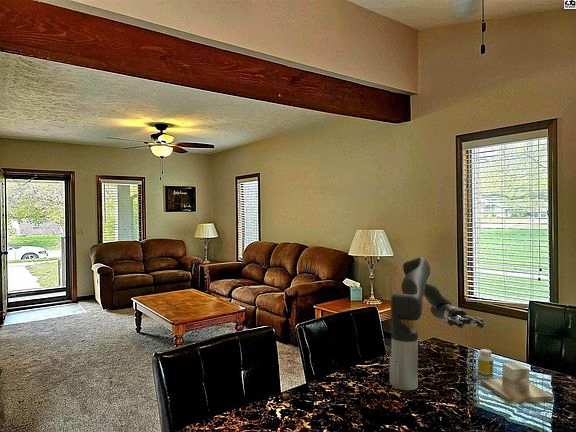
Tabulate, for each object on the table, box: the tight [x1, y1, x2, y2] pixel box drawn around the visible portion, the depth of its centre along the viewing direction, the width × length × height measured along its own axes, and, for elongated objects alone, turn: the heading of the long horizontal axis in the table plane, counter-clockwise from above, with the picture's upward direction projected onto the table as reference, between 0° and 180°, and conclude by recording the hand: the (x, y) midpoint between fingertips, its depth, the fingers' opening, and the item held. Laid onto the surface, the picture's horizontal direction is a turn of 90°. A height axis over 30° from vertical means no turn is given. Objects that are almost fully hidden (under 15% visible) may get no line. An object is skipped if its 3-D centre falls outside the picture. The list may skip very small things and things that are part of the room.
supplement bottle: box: [477, 348, 494, 379], centre depth 162 cm, size 5×5×10 cm
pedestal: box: [480, 362, 554, 404], centre depth 147 cm, size 16×16×9 cm
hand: (472, 325), depth 173 cm, fingers open, 8 cm apart
